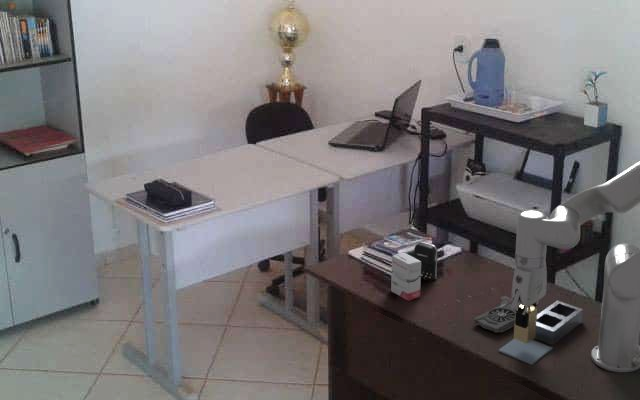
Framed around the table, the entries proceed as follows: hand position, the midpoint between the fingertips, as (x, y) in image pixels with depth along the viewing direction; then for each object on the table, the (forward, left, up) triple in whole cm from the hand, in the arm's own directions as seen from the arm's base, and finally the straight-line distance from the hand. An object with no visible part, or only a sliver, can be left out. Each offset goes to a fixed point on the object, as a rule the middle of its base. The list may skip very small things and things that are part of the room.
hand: (525, 322), depth 225 cm
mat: (0, 0, -8) cm, 8 cm away
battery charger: (+46, -17, -9) cm, 50 cm away
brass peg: (0, 0, -5) cm, 5 cm away
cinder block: (0, -15, -8) cm, 17 cm away
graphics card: (+14, -10, -9) cm, 19 cm away
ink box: (+44, -5, -9) cm, 45 cm away
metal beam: (+29, -16, -9) cm, 34 cm away
